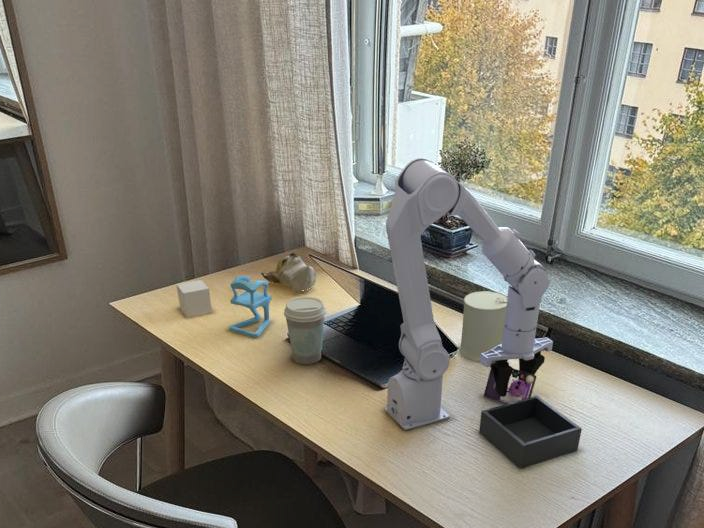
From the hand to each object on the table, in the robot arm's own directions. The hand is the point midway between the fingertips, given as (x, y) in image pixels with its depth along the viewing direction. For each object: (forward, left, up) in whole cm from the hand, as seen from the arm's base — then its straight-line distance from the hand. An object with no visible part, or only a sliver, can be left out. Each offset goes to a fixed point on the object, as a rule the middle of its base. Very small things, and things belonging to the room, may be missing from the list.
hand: (511, 391), depth 147 cm
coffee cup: (-28, +33, -2) cm, 43 cm away
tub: (-6, -13, -2) cm, 15 cm away
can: (+6, +19, -2) cm, 20 cm away
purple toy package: (0, 0, -2) cm, 2 cm away
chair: (-33, +52, -2) cm, 62 cm away
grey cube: (-42, +67, -2) cm, 79 cm away
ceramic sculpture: (-16, +70, -2) cm, 72 cm away
